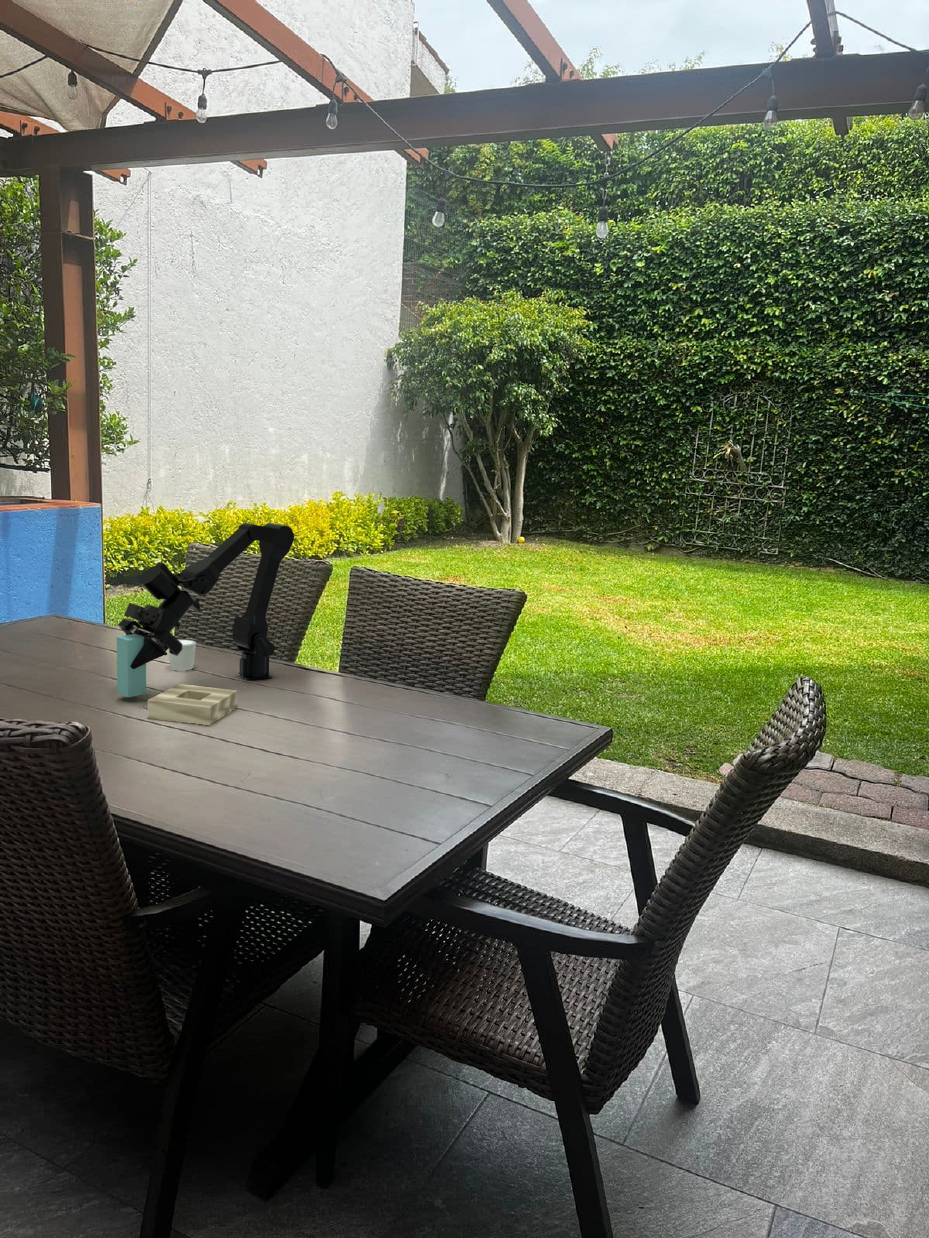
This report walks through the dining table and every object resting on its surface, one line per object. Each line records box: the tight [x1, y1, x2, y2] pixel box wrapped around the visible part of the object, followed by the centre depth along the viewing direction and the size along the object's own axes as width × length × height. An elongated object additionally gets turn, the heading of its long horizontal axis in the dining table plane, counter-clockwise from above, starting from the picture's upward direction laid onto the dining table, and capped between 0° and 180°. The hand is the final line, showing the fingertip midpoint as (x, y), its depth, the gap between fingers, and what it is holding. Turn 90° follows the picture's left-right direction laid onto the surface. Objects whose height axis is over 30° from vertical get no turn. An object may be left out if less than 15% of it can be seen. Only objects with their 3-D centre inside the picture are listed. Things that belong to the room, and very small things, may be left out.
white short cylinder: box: [168, 639, 197, 672], centre depth 235 cm, size 7×7×7 cm
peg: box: [116, 634, 147, 698], centre depth 205 cm, size 4×4×13 cm
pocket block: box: [147, 683, 238, 726], centre depth 200 cm, size 14×14×4 cm
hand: (125, 665), depth 204 cm, fingers closed on peg, 4 cm apart
